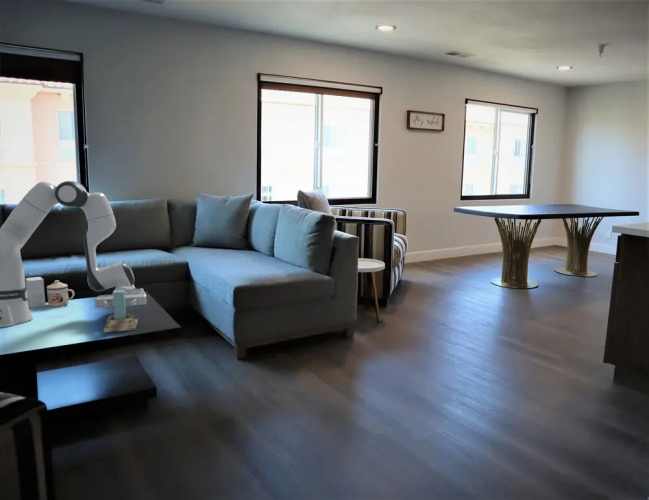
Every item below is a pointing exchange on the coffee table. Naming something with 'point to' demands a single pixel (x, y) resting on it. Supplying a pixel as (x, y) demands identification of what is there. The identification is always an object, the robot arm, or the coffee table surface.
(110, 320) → the socket
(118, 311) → the post
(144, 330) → the coffee table surface
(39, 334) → the coffee table surface
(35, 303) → the small box
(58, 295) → the teacup with lid
